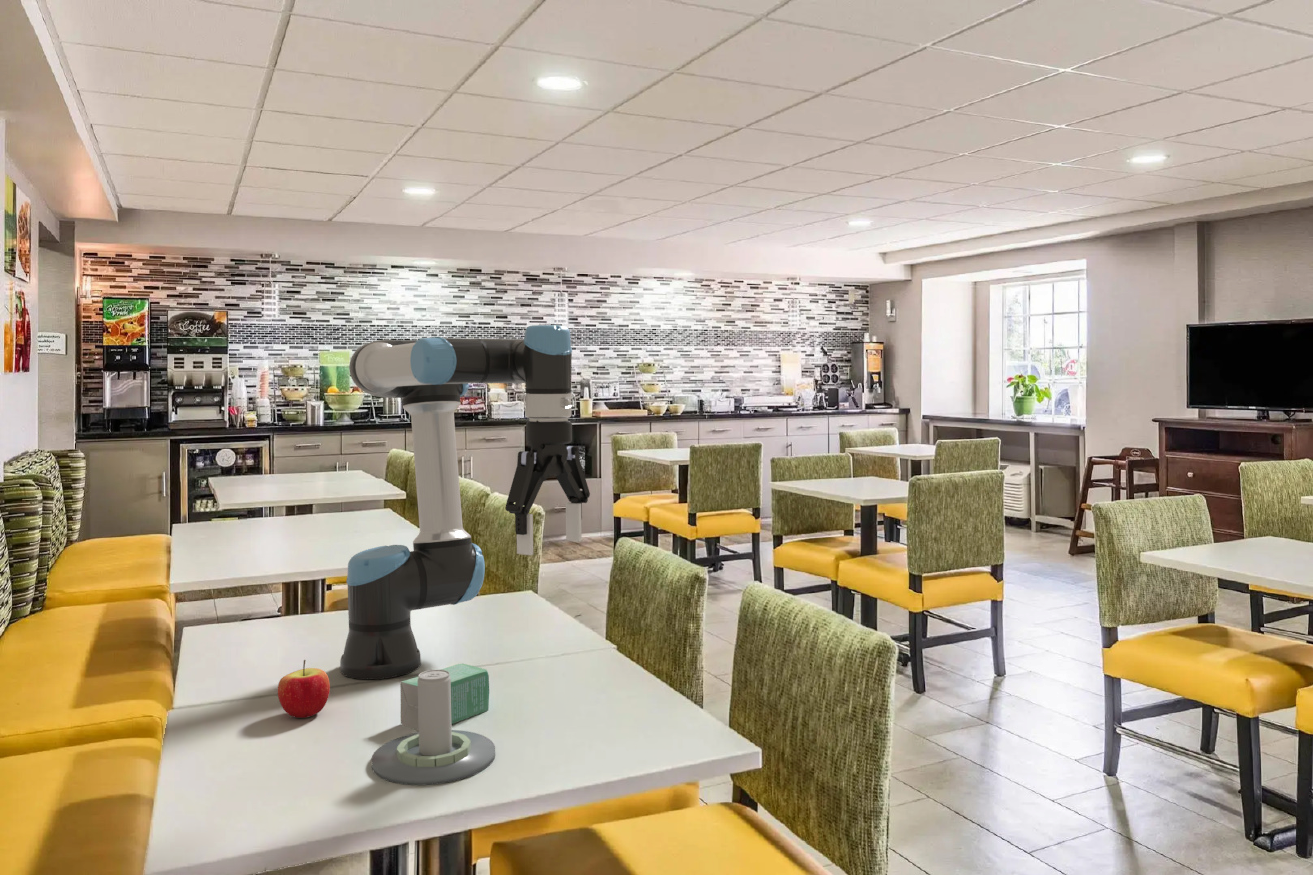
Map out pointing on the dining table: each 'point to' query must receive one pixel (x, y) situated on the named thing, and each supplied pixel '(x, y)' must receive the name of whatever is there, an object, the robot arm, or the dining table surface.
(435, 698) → the beverage can
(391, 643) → the robot arm
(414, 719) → the box
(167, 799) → the dining table surface
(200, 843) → the dining table surface
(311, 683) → the apple
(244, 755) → the dining table surface
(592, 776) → the dining table surface
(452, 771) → the tray
